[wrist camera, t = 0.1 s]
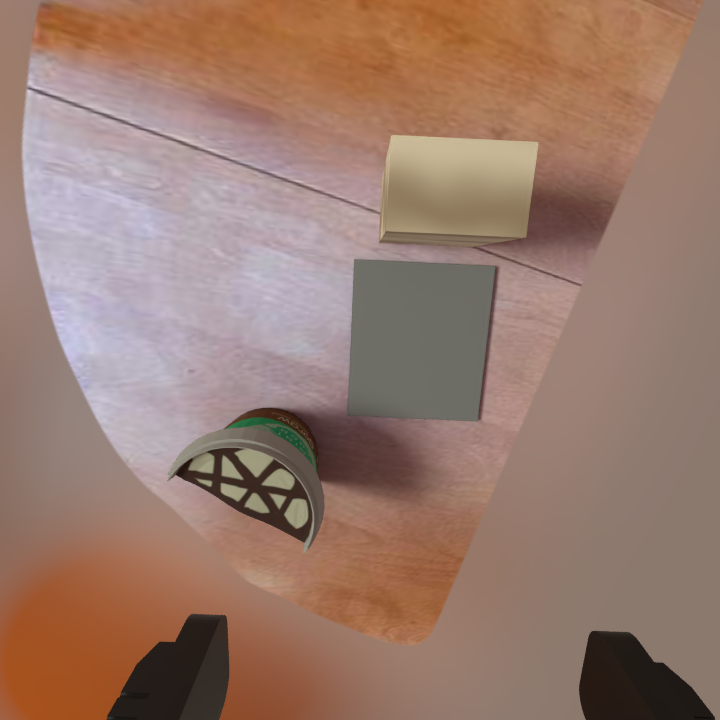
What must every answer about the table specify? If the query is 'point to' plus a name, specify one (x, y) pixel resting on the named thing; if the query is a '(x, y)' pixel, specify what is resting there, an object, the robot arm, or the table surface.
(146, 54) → the table surface
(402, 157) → the ash block
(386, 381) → the mat
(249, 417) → the food container
